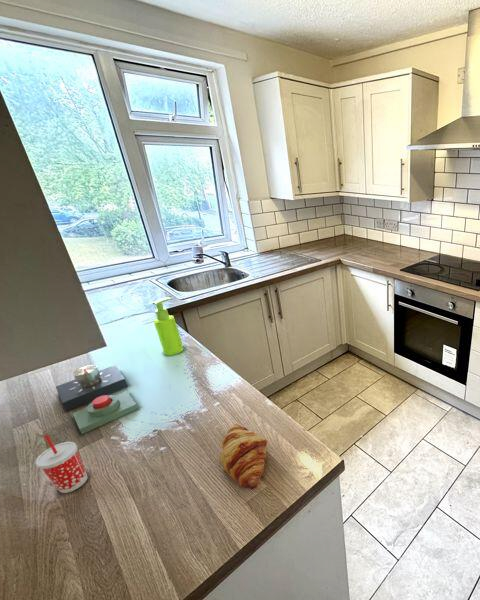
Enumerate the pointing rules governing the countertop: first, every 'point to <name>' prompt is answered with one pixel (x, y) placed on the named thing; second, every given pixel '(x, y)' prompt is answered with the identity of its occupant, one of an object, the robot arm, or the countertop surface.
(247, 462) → the croissant
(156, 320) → the soap dispenser
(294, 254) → the countertop surface
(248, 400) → the countertop surface
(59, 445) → the beverage cup
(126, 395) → the button block
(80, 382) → the dial
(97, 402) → the button
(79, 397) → the dial panel
